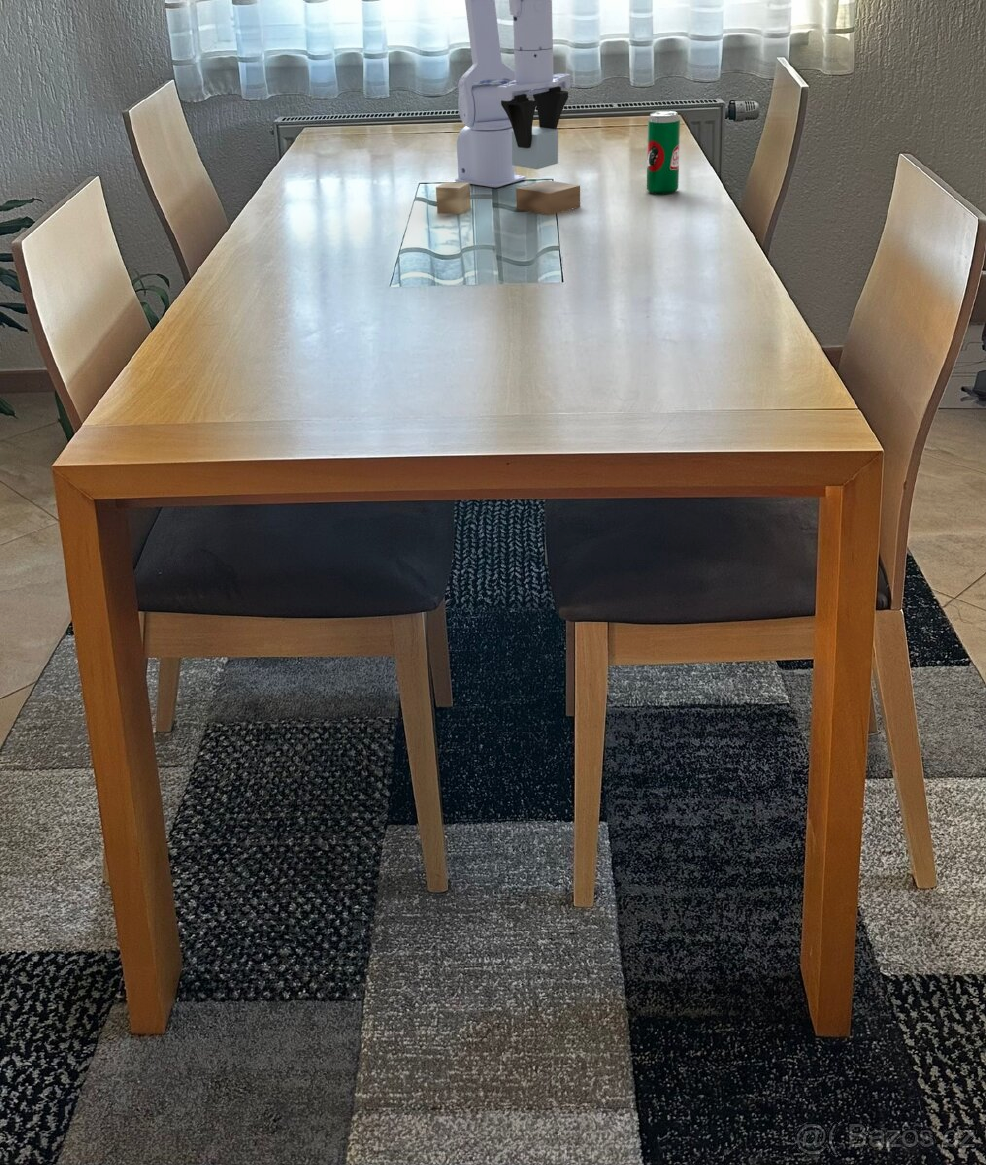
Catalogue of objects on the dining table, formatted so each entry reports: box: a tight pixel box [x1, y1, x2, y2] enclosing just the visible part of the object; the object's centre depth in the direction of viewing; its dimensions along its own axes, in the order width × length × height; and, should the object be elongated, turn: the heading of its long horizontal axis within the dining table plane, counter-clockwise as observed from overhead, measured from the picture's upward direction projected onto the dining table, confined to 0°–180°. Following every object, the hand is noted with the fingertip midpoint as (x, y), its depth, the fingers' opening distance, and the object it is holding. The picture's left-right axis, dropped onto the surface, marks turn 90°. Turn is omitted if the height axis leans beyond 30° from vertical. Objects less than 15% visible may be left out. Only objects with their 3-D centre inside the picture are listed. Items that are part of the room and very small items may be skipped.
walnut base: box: [515, 179, 581, 216], centre depth 200 cm, size 7×7×4 cm
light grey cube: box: [512, 125, 559, 170], centre depth 197 cm, size 5×5×5 cm
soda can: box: [646, 110, 681, 196], centre depth 204 cm, size 5×5×12 cm
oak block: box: [435, 181, 472, 215], centre depth 201 cm, size 4×4×4 cm
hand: (536, 144), depth 196 cm, fingers closed on light grey cube, 5 cm apart
